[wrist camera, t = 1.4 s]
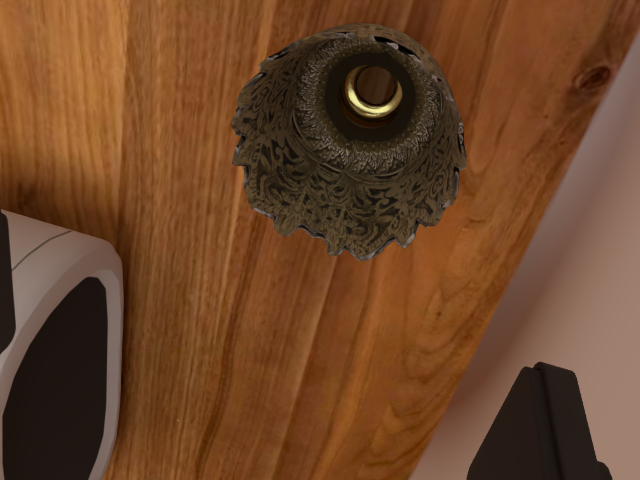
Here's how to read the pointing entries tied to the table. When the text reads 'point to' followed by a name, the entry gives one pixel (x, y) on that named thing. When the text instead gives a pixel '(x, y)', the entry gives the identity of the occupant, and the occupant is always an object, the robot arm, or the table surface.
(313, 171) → the brown jagged-rimmed vessel
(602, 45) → the table surface
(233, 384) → the table surface
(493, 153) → the table surface
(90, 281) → the alarm clock
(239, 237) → the table surface
